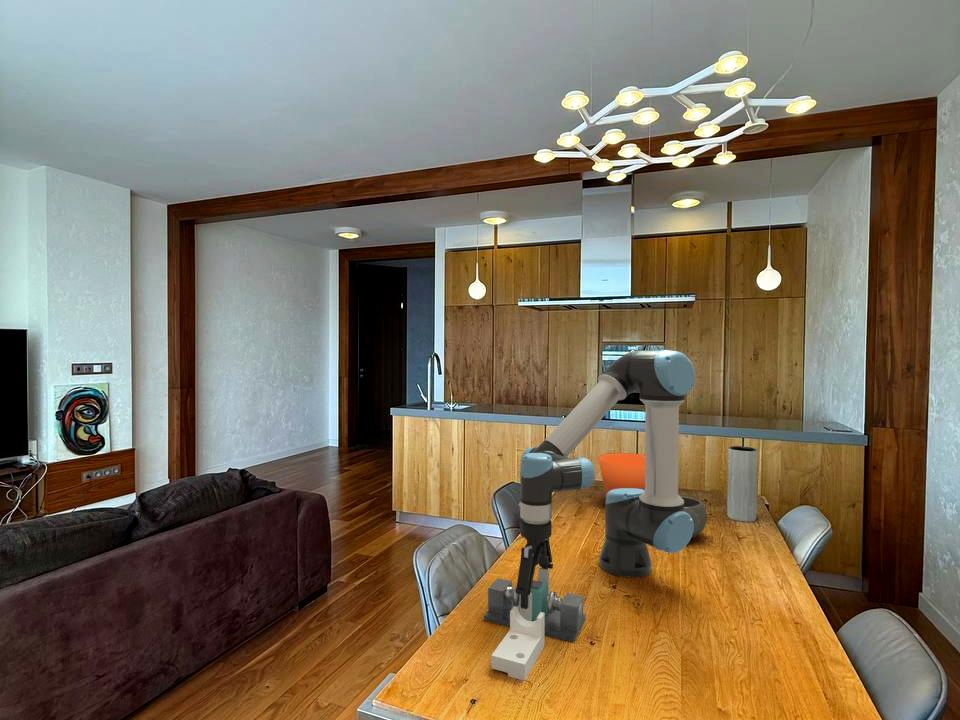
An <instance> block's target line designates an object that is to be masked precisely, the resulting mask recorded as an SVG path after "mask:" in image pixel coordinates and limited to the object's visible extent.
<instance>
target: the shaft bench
mask: <svg viewBox="0 0 960 720" xmlns="http://www.w3.org/2000/svg"><path fill="white" fill-rule="evenodd" d="M516 587H517V584H516V585H515V587H513V581H512V580H509V579H503V578H499V577H497V578H496V579H495V580H494V581H493V582H492V583H491V585H489V586H488V588H487V610H486V612H485V613H484V614H483V621H485V622H489V623H493V622H494V623H493V624H497V623H498V624H497V625H501V624H502V626H505V627H506V626H507V627H509V626H510V611H511V610H512V608H513V607H514V606H516V607H518V610H519V613H520V594H516V591H515V590H516ZM584 599H585V597H584V595H582V594H576V593H572V592H571V593H570V592H566V594H565V595H564V597H560V596H558V593H557V591H555V590H554V591H553V590H551V591H549V596H547V613H546V615H545V634H544V636H547V637H551V638H555V639H559V640H562V641H567V642H571V643H576V641H577V638H578V636H579V634H580V632H581V630H582V627H583V625H584V623H585V622H586V619H587V617H586V616H587V614H586V613H584V604H585V603H584ZM532 621H534V620H532Z"/></svg>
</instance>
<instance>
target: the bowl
mask: <svg viewBox="0 0 960 720" xmlns="http://www.w3.org/2000/svg"><path fill="white" fill-rule="evenodd" d="M679 496H680V497H681V498H682V499H683V500H684V512H686V513H688V514H689V515H690V516H691V518H692V519H693V523H694V530H693V534H692V537H691V539H692V538H695V537H696V536H699V535H700V534H701V533H702V532H703V530H705V528H706V525H707V521H708V519H707V518H708V516H707V510H706V508H705V505H704V504H703V502H702V501H701V500H699V499H696V498H694V497H693V498H691V497H687V496H681V495H679Z"/></svg>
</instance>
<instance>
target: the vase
mask: <svg viewBox="0 0 960 720" xmlns="http://www.w3.org/2000/svg"><path fill="white" fill-rule="evenodd" d="M757 489H758V449H757V448H755V447H751V446H750V447H749V446H743V445H742V446H741V445H740V446H739V445H733V446H729V447H728V452H727V501H726V502H727V503H726V505H727V507H726V509H727V510H726V514H727V518H728V519H731V520H733V521H735V522H736V521H737V522H742V523H751V522H752V523H753V522H755V521H756V520H757V502H758V501H757V500H758V499H757V498H758V497H757V496H758V495H757V494H758V490H757Z"/></svg>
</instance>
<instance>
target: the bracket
mask: <svg viewBox="0 0 960 720" xmlns="http://www.w3.org/2000/svg"><path fill="white" fill-rule="evenodd" d="M544 634H545V613H542V612H540V614H539V615H538V617H537V620H536V621H527V620H525V619H524V618H523V617H522V616H521V615H520V613H519V610H518V607H516V606H514V607H513V608H512V610H511V611H510V627H509V631H508V632H507V633H506V634H505V636H504V637H503V639H502V640H501V641H500V643H499V644H498V645H497V647H496V648H495V650H494V651H493V653H492V654H491V657H490V658H491V660H490V661H491V667H490V668H491V669H494V670H496V671H500V672H504V673H507V676H508V677H510V678H513V679H516V680H520V681H526V679H528V676H529V675H530V672H531V670H532V669H533V667H534V665H535V664H536V662H537V659H538V658H539V657H540V654H541V652H542V651H543V649H544V647H545V635H544Z"/></svg>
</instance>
